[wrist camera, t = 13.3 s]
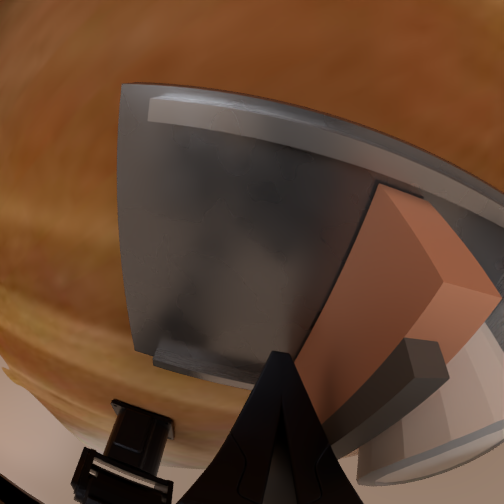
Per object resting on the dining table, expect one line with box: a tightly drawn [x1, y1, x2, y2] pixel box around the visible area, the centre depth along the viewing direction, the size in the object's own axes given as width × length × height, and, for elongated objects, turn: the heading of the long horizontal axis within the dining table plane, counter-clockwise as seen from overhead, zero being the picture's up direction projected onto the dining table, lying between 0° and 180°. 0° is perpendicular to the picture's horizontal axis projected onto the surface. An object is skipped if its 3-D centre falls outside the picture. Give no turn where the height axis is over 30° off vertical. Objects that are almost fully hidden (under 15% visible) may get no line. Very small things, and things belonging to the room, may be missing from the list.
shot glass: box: [356, 322, 504, 486], centre depth 9 cm, size 7×7×7 cm
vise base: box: [117, 82, 504, 390], centre depth 10 cm, size 14×21×6 cm, turn 79°
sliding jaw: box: [294, 183, 502, 460], centre depth 9 cm, size 11×2×6 cm, turn 169°
